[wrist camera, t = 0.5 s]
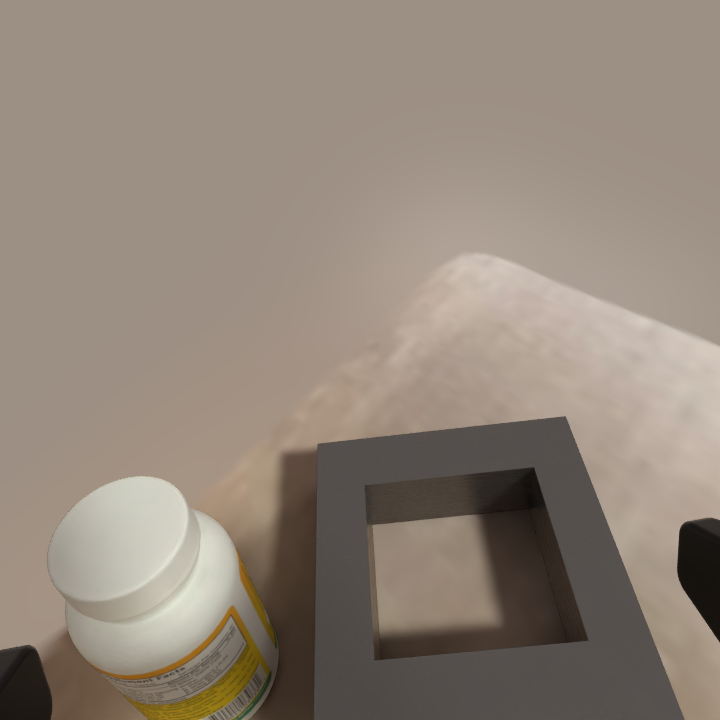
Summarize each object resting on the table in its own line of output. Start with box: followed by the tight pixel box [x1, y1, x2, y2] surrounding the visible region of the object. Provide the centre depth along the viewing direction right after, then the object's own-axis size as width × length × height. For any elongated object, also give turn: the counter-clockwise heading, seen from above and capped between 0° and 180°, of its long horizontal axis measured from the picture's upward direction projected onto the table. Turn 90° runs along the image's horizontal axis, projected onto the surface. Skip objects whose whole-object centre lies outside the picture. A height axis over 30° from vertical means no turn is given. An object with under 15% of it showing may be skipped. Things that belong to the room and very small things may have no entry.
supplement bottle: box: [47, 476, 279, 720], centre depth 20 cm, size 5×5×10 cm
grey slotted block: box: [314, 416, 684, 720], centre depth 20 cm, size 20×11×3 cm, turn 2°
